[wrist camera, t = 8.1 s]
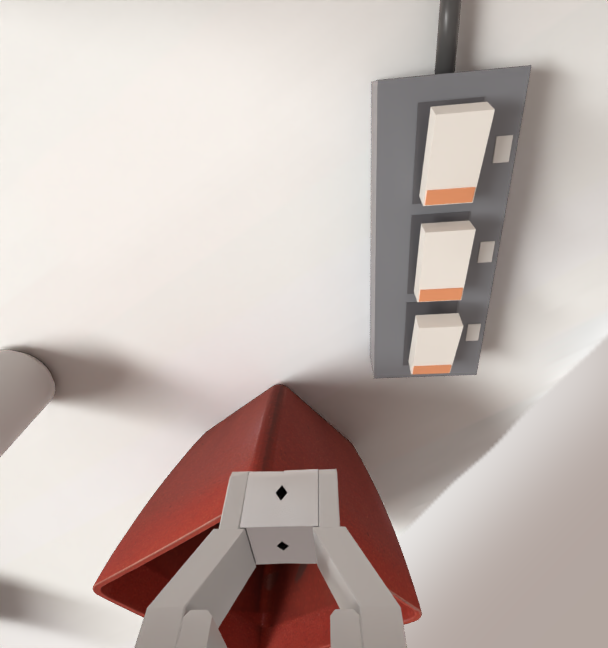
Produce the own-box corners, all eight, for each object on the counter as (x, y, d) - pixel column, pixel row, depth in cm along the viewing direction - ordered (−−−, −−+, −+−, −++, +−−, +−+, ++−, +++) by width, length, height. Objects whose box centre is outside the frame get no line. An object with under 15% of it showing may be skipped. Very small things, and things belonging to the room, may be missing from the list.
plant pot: (275, 512, 52) (257, 675, 37) (161, 432, 45) (84, 592, 31) (394, 449, 45) (428, 619, 30) (280, 343, 38) (254, 496, 24)
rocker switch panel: (371, -34, 24) (379, -54, 21) (525, -53, 23) (557, -76, 20) (370, 356, 38) (374, 379, 35) (464, 352, 38) (476, 375, 34)
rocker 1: (430, 106, 23) (436, 115, 22) (487, 101, 23) (495, 110, 21) (419, 195, 27) (423, 206, 26) (467, 192, 26) (473, 203, 25)
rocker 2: (421, 223, 27) (425, 233, 25) (469, 220, 26) (476, 230, 25) (413, 291, 30) (417, 303, 29) (456, 289, 30) (461, 300, 29)
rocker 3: (415, 315, 30) (419, 329, 29) (458, 313, 30) (463, 327, 28) (408, 361, 34) (411, 375, 33) (446, 359, 34) (450, 373, 32)
